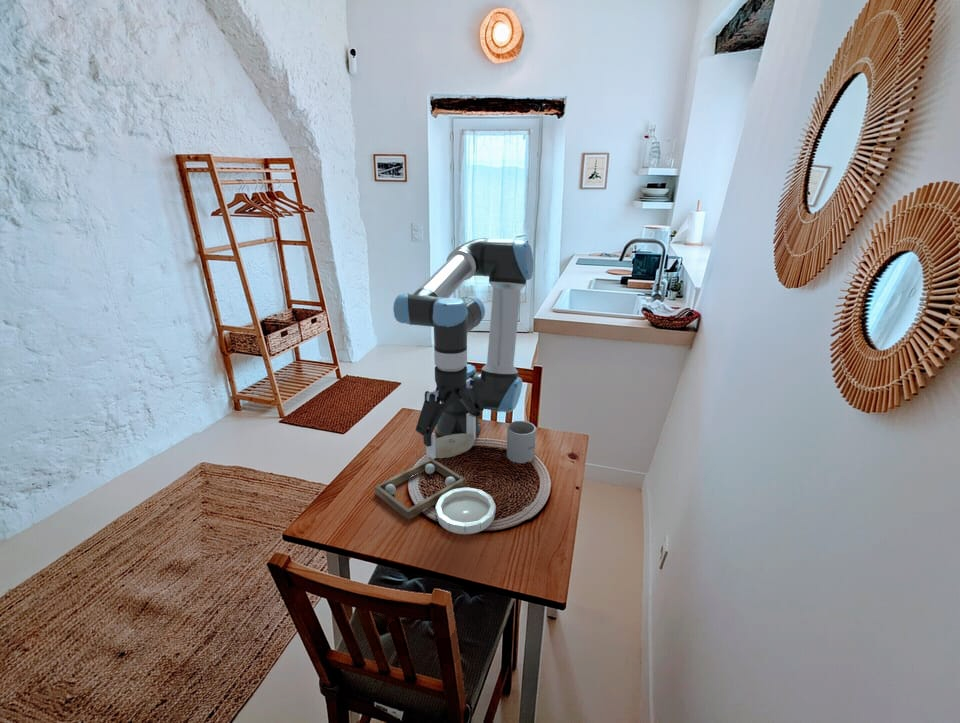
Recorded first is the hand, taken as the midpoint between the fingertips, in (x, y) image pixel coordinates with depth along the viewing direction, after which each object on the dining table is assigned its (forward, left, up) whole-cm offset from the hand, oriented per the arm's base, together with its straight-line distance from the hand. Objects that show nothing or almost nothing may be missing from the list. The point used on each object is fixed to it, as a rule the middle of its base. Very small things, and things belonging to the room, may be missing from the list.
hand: (451, 446), depth 117 cm
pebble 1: (+8, -17, -19) cm, 27 cm away
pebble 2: (-6, -8, -19) cm, 21 cm away
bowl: (-1, +4, -19) cm, 19 cm away
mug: (-34, -4, -19) cm, 39 cm away
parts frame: (+1, -12, -19) cm, 23 cm away
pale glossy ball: (-6, -17, -19) cm, 26 cm away
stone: (0, 0, -2) cm, 2 cm away
